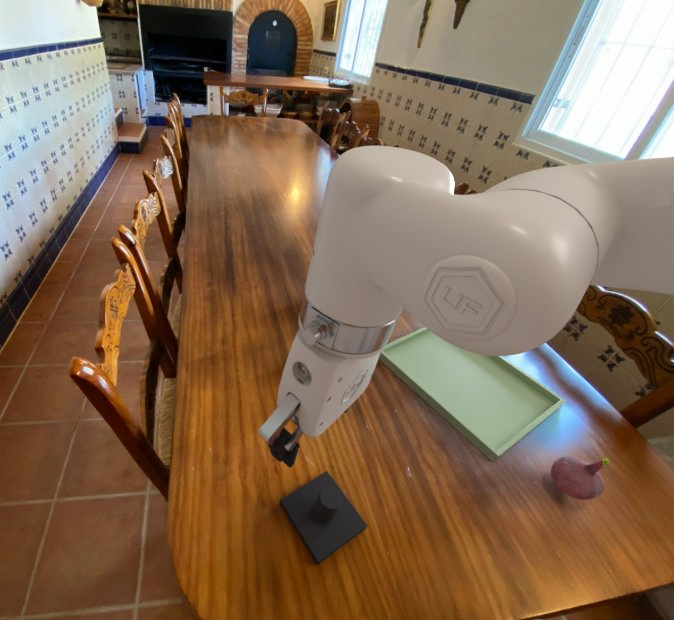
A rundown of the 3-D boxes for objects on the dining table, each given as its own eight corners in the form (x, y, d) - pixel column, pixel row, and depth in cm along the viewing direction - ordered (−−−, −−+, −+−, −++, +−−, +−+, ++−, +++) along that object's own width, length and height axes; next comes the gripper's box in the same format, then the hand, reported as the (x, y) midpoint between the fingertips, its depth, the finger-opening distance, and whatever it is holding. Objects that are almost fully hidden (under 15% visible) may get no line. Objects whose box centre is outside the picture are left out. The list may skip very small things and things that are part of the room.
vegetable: (569, 515, 55) (617, 486, 48) (530, 478, 59) (569, 447, 52) (591, 499, 57) (639, 469, 50) (552, 464, 61) (592, 432, 55)
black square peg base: (365, 528, 51) (378, 511, 47) (316, 565, 47) (326, 549, 43) (325, 474, 57) (333, 454, 53) (279, 502, 53) (284, 484, 49)
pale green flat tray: (560, 407, 71) (566, 401, 69) (492, 462, 61) (498, 456, 59) (441, 323, 88) (445, 317, 87) (374, 355, 78) (376, 348, 77)
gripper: (318, 400, 22) (283, 510, 33) (436, 294, 32) (378, 406, 43) (237, 336, 26) (229, 453, 37) (364, 259, 36) (328, 370, 47)
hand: (309, 428), depth 40 cm, fingers open, 9 cm apart
